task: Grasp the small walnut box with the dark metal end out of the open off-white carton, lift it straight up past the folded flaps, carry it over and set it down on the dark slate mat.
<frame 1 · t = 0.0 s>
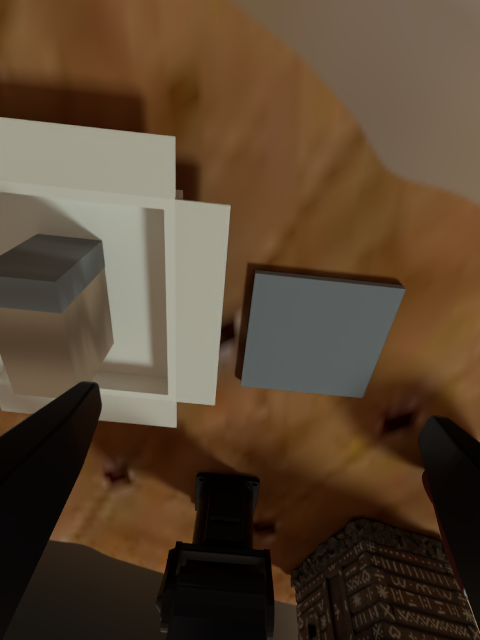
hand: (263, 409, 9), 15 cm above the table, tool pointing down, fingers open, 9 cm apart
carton: (82, 290, 24), on the table
slate mat: (313, 337, 26), on the table
mug: (443, 455, 33), on the table
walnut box: (79, 294, 24), resting on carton
model building: (359, 557, 44), on the table
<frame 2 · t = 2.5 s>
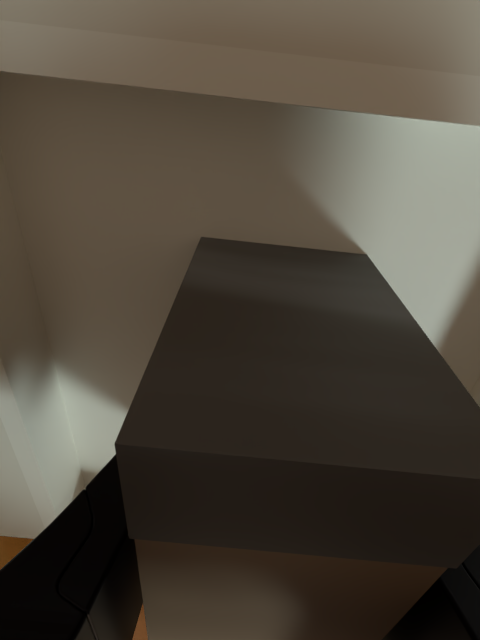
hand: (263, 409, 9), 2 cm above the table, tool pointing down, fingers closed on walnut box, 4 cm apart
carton: (262, 362, 11), on the table
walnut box: (262, 372, 11), resting on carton, touching gripper
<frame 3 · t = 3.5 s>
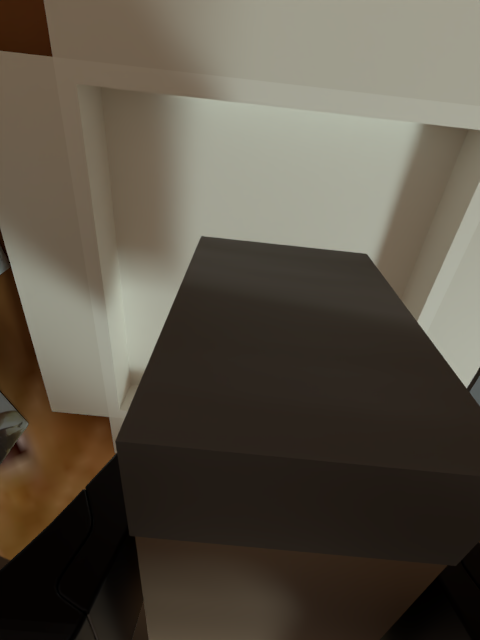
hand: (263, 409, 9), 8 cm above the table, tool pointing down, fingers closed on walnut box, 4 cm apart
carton: (260, 281, 16), on the table
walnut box: (262, 371, 11), point 7 cm above the table, touching gripper
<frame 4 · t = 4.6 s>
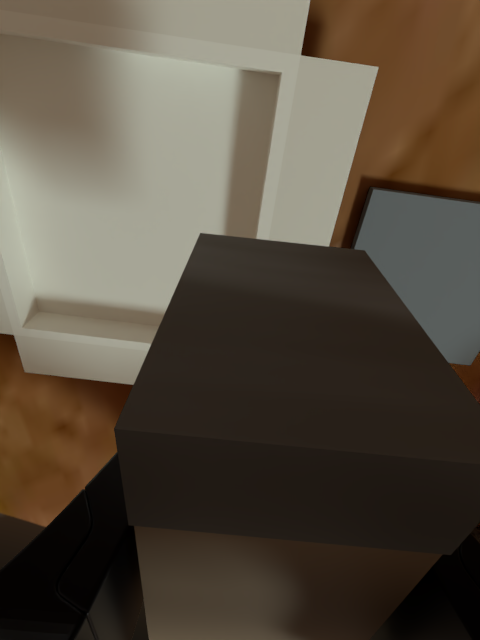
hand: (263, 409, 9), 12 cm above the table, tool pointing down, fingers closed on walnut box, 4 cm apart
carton: (138, 213, 19), on the table
slate mat: (424, 285, 20), on the table
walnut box: (261, 368, 11), point 11 cm above the table, touching gripper
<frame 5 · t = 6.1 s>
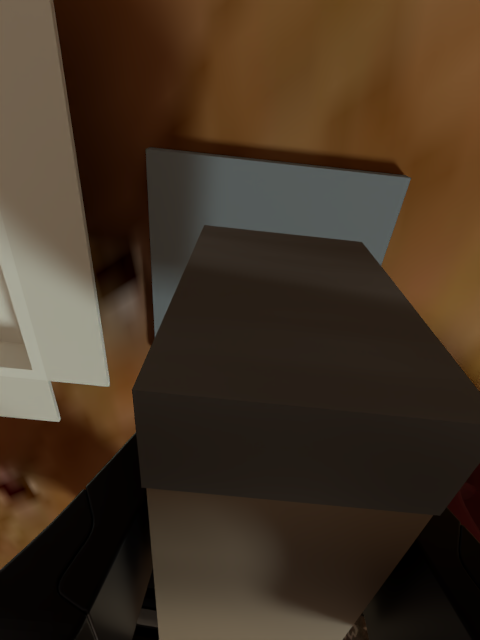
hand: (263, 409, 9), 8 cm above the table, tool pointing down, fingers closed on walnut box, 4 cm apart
slate mat: (261, 277, 16), on the table
mug: (461, 461, 23), on the table
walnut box: (262, 358, 11), point 6 cm above the table, touching gripper
model building: (348, 588, 34), on the table
when the fingers open (4 cm above the table, at t = 7.2 s): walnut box stays where it is, resting on slate mat.
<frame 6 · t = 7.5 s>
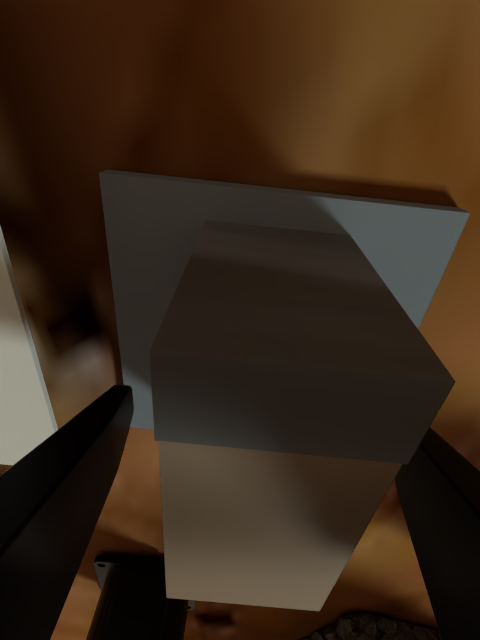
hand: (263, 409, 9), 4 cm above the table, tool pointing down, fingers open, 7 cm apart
slate mat: (261, 333, 12), on the table
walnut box: (260, 344, 12), point 1 cm above the table, touching slate mat
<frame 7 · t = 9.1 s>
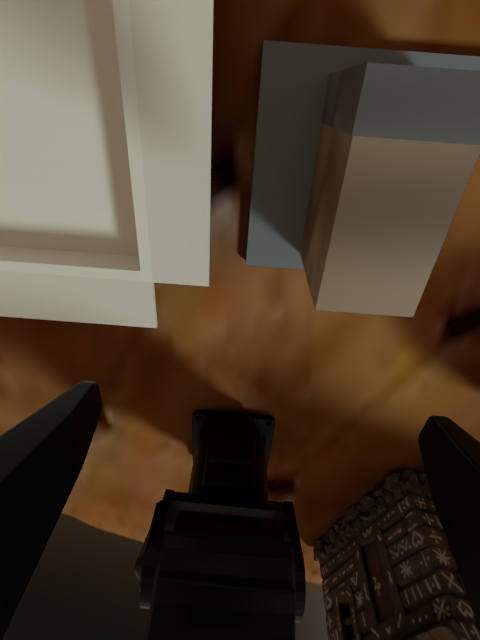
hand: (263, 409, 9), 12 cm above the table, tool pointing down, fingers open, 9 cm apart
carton: (3, 103, 16), on the table
slate mat: (352, 176, 17), on the table
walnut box: (353, 179, 17), point 1 cm above the table, touching slate mat
model building: (398, 522, 36), on the table
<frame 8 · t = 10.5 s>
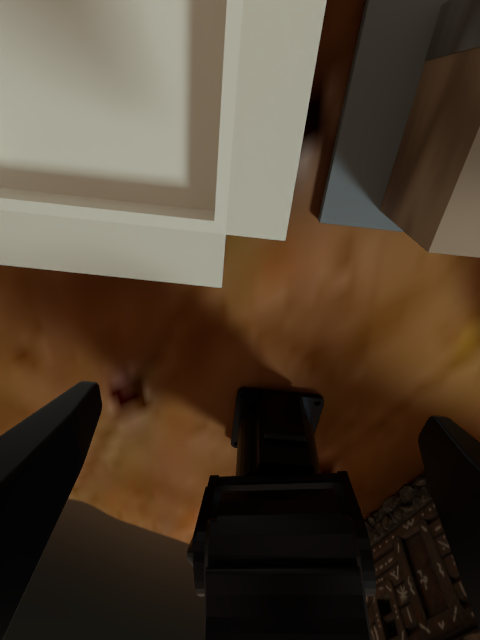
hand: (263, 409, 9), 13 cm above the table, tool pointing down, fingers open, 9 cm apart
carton: (80, 30, 15), on the table
slate mat: (444, 126, 16), on the table
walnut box: (449, 127, 16), point 1 cm above the table, touching slate mat
model building: (434, 516, 34), on the table
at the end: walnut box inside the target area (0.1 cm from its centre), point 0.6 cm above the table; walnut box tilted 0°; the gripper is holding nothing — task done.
